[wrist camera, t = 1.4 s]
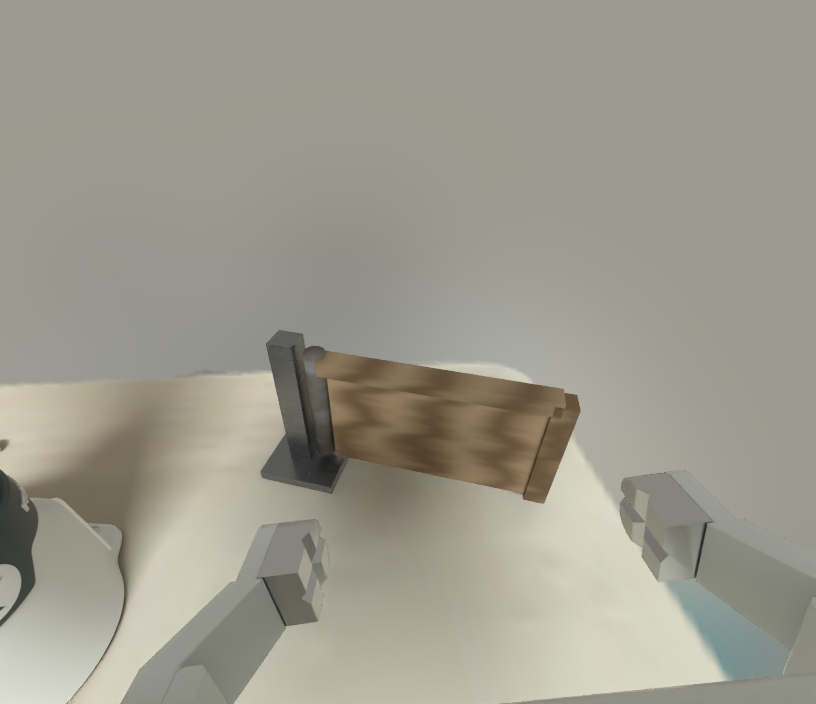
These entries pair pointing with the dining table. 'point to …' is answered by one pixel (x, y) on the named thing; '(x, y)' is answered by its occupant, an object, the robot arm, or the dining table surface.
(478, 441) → the gate
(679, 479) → the robot arm
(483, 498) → the dining table surface
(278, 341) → the gate post
